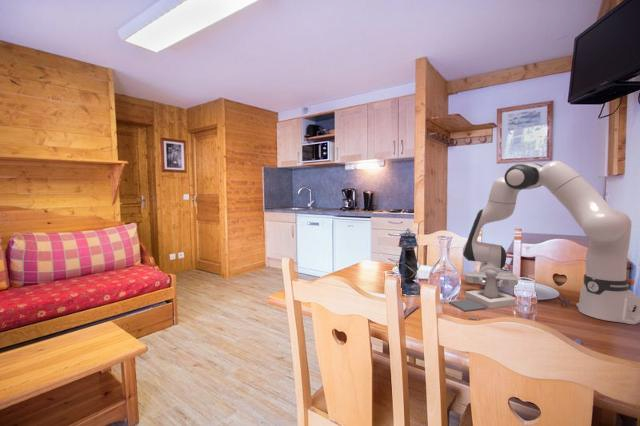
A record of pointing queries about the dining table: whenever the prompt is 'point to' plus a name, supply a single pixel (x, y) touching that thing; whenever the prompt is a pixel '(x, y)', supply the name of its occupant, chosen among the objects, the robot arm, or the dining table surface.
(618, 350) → the dining table surface
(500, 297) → the socket block
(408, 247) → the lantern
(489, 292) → the salt shaker
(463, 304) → the rubber pad
